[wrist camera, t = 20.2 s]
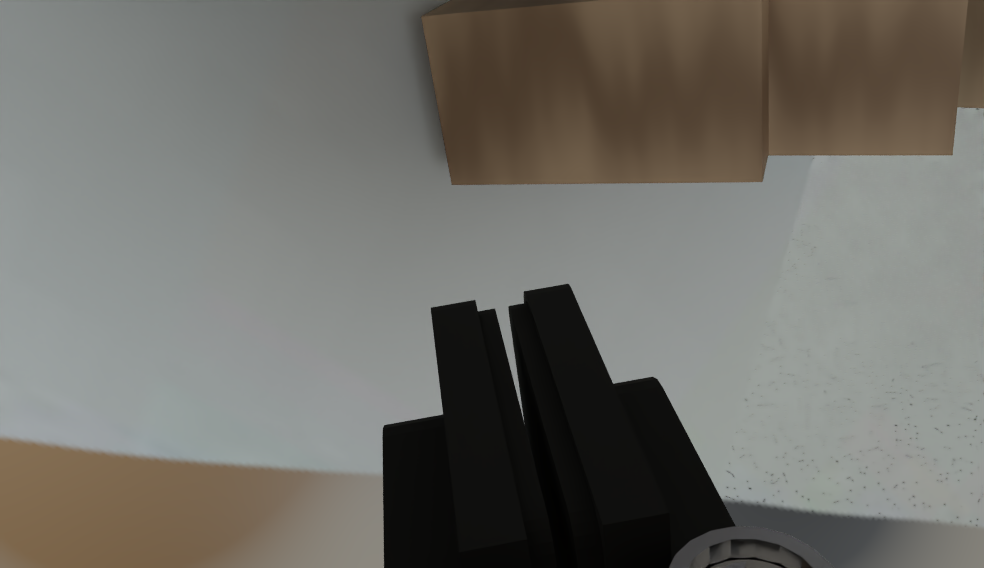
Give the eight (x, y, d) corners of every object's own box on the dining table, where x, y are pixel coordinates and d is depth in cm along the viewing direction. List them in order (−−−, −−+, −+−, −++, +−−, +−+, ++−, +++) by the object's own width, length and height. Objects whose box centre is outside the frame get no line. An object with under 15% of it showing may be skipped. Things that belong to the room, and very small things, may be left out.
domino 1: (421, 16, 24) (761, -14, 20) (451, -1, 25) (768, -31, 22) (452, 185, 26) (762, 181, 23) (477, 158, 28) (768, 152, 24)
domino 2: (606, -14, 24) (972, -45, 20) (627, -29, 26) (968, -60, 22) (620, 155, 26) (952, 155, 23) (639, 131, 28) (950, 127, 24)
